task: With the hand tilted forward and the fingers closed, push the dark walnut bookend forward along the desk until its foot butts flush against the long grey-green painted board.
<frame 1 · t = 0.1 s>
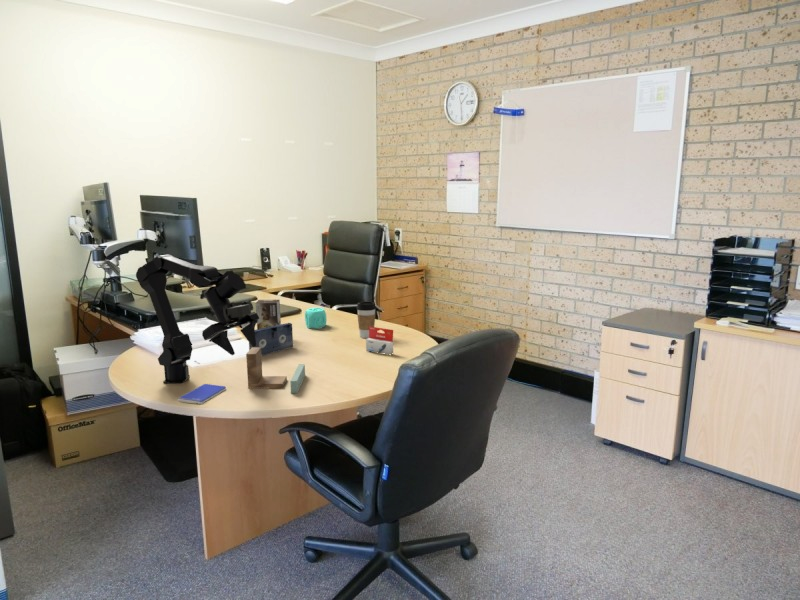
hand: (244, 350, 162), 15 cm above the table, tool tilted 35°, fingers open, 9 cm apart
coffee box: (269, 338, 228), on the table
board: (298, 383, 176), on the table
coffee cup: (366, 336, 231), on the table
decorative dice: (315, 326, 247), on the table
ink cartridge box: (379, 353, 209), on the table
bookend: (267, 384, 176), on the table
vhs cassette tape: (272, 352, 210), on the table
hard drive: (202, 397, 167), on the table
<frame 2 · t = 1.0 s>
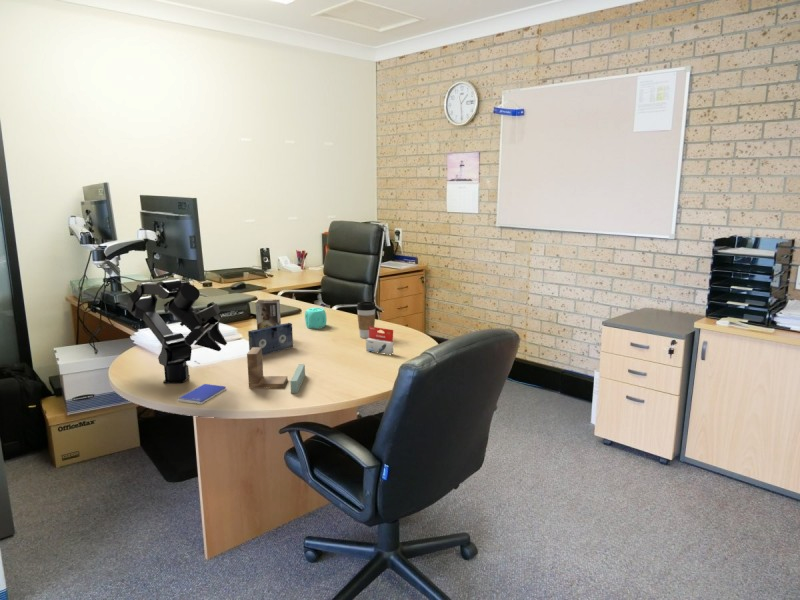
hand: (223, 347, 173), 13 cm above the table, tool tilted 45°, fingers open, 6 cm apart
nothing on the table moved.
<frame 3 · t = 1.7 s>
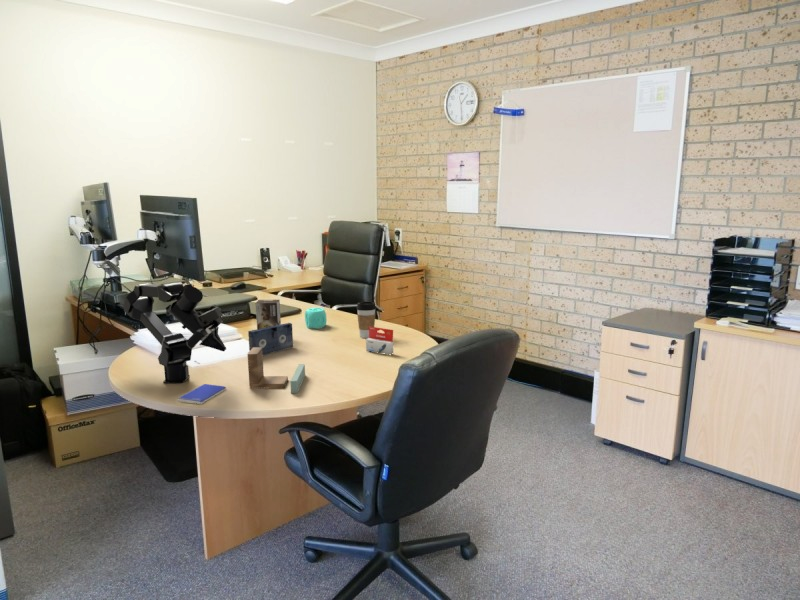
hand: (225, 350, 173), 12 cm above the table, tool tilted 45°, fingers closed
nothing on the table moved.
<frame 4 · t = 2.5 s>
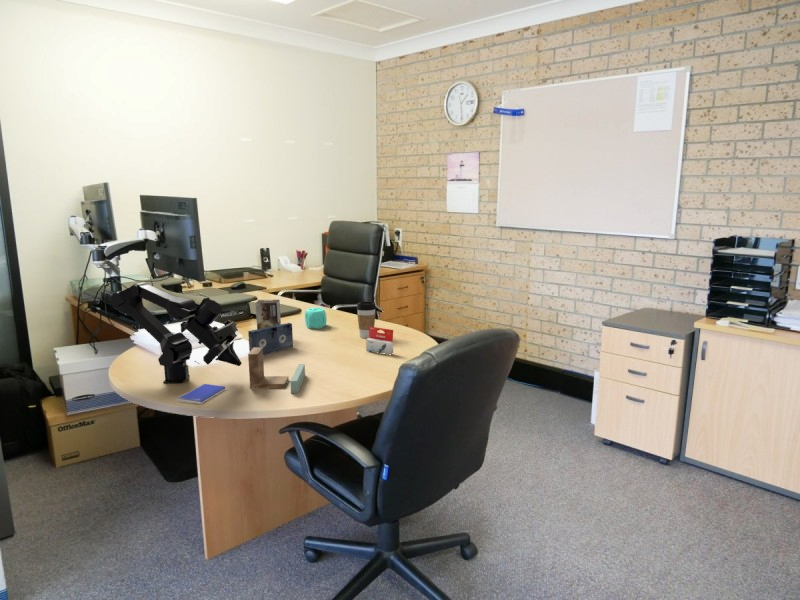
hand: (240, 364, 174), 7 cm above the table, tool tilted 45°, fingers closed
nothing on the table moved.
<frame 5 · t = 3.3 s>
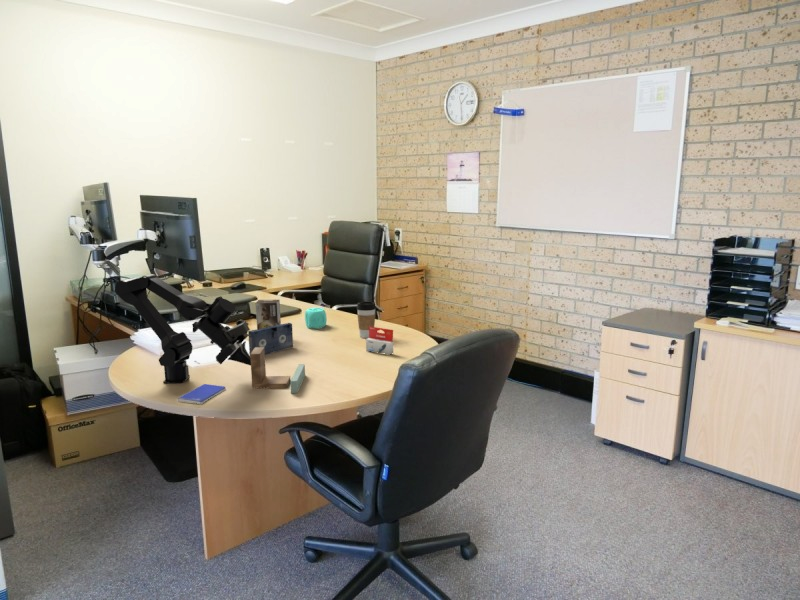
hand: (252, 364, 174), 7 cm above the table, tool tilted 45°, fingers closed, pressing on bookend
bookend: (271, 384, 176), on the table, touching gripper
everything else where it was.
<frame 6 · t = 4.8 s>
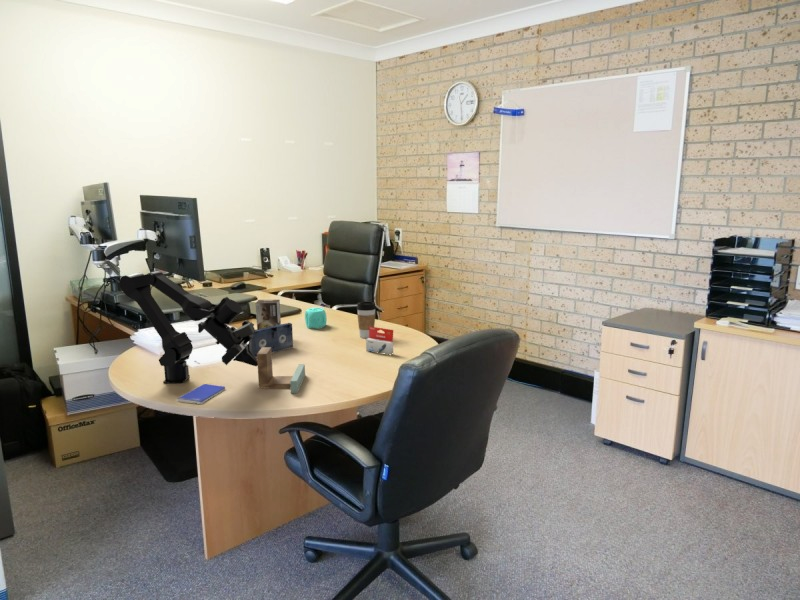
hand: (257, 365, 174), 6 cm above the table, tool tilted 45°, fingers closed
bookend: (278, 384, 176), on the table
everything else where it was.
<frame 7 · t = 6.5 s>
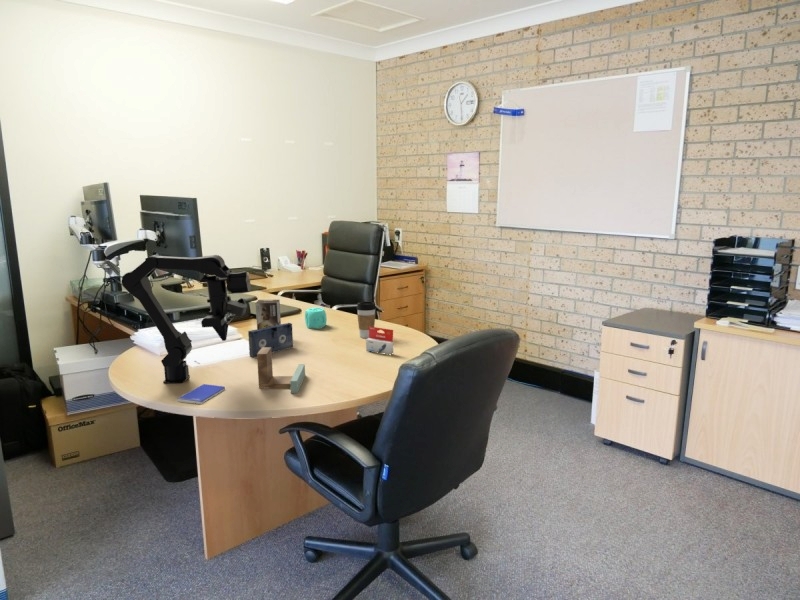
hand: (224, 340, 178), 13 cm above the table, tool pointing down, fingers closed
nothing on the table moved.
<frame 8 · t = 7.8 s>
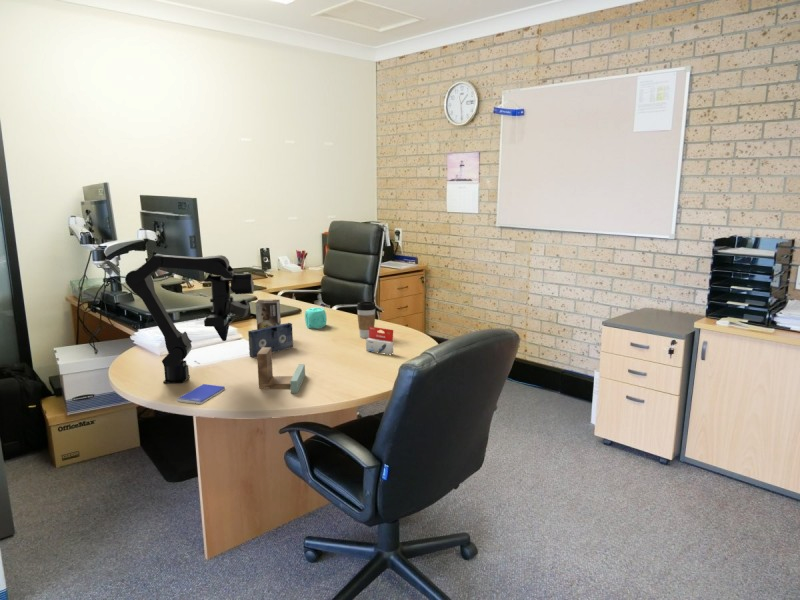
hand: (224, 340, 179), 13 cm above the table, tool pointing down, fingers closed
nothing on the table moved.
at the end: bookend 0.0 cm from the target spot on the table beside the board, on the table; bookend tilted 0° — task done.
